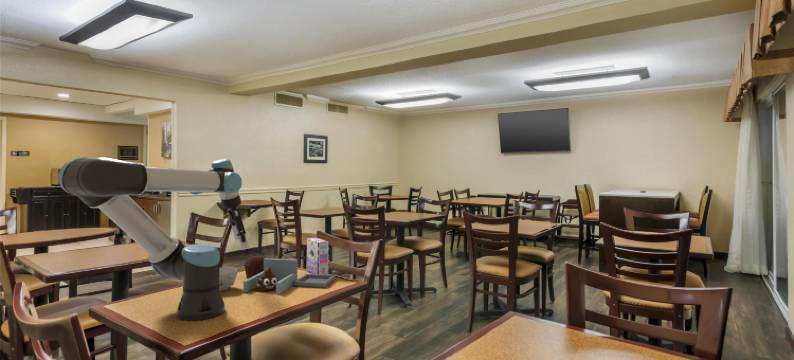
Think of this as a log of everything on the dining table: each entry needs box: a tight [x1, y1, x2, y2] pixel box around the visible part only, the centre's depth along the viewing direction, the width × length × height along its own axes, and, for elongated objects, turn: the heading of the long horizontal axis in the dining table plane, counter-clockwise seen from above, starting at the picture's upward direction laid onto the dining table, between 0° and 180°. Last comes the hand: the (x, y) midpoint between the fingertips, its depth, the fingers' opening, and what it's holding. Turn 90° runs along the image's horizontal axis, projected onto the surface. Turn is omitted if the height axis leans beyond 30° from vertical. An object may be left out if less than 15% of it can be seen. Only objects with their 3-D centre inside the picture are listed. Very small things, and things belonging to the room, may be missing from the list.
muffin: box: [243, 254, 266, 280], centre depth 197 cm, size 12×11×10 cm
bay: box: [243, 257, 298, 295], centre depth 182 cm, size 19×15×10 cm
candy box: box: [306, 237, 330, 275], centre depth 206 cm, size 14×6×16 cm, turn 34°
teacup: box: [219, 266, 238, 292], centre depth 177 cm, size 15×12×8 cm
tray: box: [293, 273, 336, 289], centre depth 188 cm, size 14×14×2 cm
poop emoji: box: [254, 267, 278, 293], centre depth 178 cm, size 10×8×9 cm
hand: (241, 243), depth 179 cm, fingers open, 13 cm apart
